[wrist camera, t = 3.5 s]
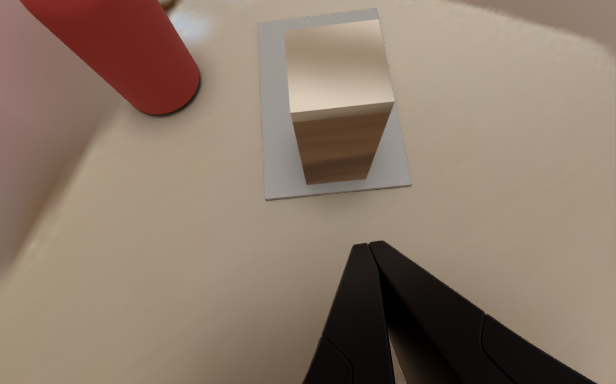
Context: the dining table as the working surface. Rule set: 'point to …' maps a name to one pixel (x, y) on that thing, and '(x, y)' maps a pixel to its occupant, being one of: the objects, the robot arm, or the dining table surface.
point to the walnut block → (338, 98)
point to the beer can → (125, 48)
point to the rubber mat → (280, 132)
